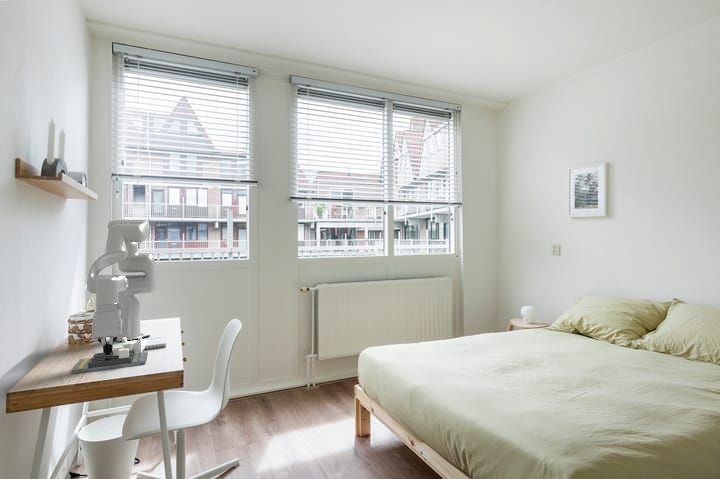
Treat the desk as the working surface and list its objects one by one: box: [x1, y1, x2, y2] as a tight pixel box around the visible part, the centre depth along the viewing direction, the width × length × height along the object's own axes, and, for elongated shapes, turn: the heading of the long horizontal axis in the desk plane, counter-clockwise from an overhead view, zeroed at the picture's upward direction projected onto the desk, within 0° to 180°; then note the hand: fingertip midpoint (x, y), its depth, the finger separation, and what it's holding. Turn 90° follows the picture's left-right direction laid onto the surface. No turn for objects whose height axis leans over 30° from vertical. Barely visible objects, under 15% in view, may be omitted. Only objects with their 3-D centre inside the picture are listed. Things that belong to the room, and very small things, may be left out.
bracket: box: [121, 336, 148, 353], centre depth 175 cm, size 13×7×8 cm, turn 18°
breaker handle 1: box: [121, 342, 132, 351], centre depth 164 cm, size 3×3×5 cm
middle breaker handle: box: [112, 345, 124, 356], centre depth 158 cm, size 3×3×5 cm
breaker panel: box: [71, 349, 149, 374], centre depth 157 cm, size 15×24×3 cm, turn 115°
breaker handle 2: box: [119, 348, 129, 359], centre depth 155 cm, size 3×3×5 cm
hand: (107, 354), depth 157 cm, fingers closed
